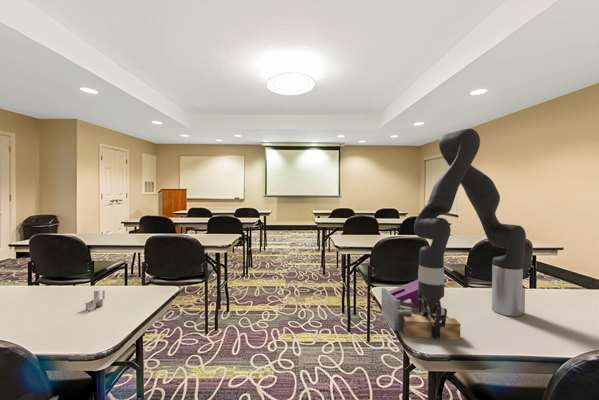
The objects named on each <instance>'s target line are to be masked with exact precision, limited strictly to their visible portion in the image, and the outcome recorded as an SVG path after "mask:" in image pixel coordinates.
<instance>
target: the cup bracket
mask: <svg viewBox="0 0 599 400" xmlns="http://www.w3.org/2000/svg"><path fill="white" fill-rule="evenodd" d="M389 291H390V290H388V289H386V288H385V287H384V288H383V287H382V288H381V316H382V318H383V319H384V320H385V321H386V323H387V324H388V326H390V327H391V329H392V330H393V331H394V332H399V331H400V330H403V315H406V316H413V312H412V309H401V307H402V306H401V305H402V304H401V303H402V302H401V301H400V300H397V299H396V298H395V297H394V296H393V295H392V294H391V293H390V292H389Z"/></svg>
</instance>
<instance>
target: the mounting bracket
mask: <svg viewBox="0 0 599 400" xmlns="http://www.w3.org/2000/svg"><path fill="white" fill-rule="evenodd" d="M388 291H389V292H390V293H391V294H392V295H393V296H394V297H395V298H396V299H397V300H400V301H401V303H402V302H405V301H407V300H410V301H411V302H412V304H413V306H414V307H415V308H416V309H418V302H417V294H419V293H418V279H415V280H414V281H410V282H408V283H406V284H403V285H401V286H399V287H396V288H394V289H391V290H388Z"/></svg>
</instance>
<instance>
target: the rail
mask: <svg viewBox="0 0 599 400" xmlns="http://www.w3.org/2000/svg"><path fill="white" fill-rule="evenodd" d="M434 320H436V318H434ZM441 323H442V321H441ZM402 331H403V333H404V335H405V336H407V337H416V338H417V337H419V338H431V339H434V338H433V337H432V322H431V318H429V317H423V316H421V315H420V316H419V315H412V316H406V315H403V329H402ZM439 339H447V340H458V341H459V340H461V323H460V322H459V321H458V319H456V318H455V317H449V318H446V323H445V327H440V338H439Z"/></svg>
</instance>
